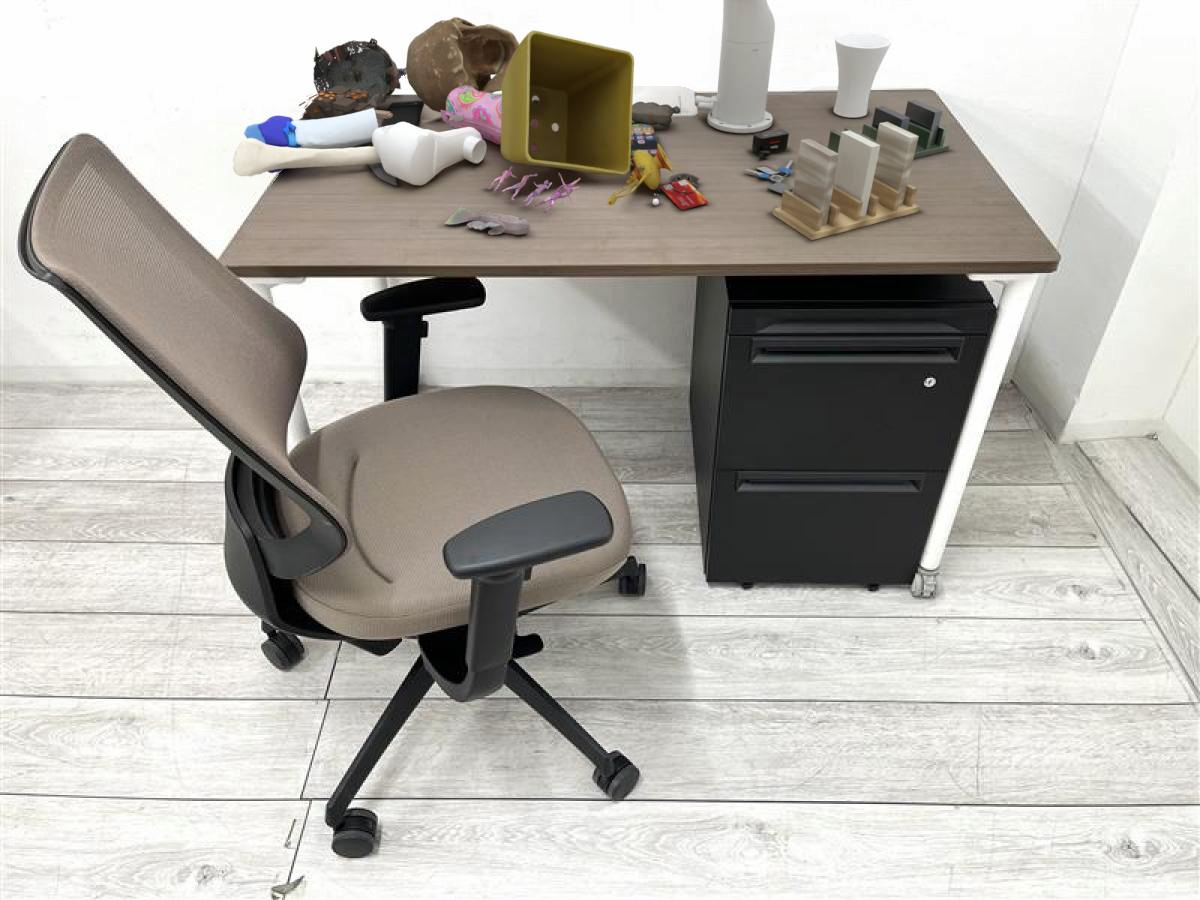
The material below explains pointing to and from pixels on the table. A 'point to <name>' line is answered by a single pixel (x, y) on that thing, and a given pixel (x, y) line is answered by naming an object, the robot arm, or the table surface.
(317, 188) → the table surface
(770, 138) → the wireless earbuds
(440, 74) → the skull
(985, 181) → the table surface
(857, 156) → the white book
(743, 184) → the table surface
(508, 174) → the people figure
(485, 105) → the pencil case
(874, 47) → the cup
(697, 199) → the card
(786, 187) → the key chain
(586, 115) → the flower pot
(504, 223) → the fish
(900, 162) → the beige rack
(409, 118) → the smartphone
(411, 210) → the table surface
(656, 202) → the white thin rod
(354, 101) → the video game creature
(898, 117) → the green rack
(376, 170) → the knife
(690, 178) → the corroded twin loop
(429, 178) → the white plastic bottle
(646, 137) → the smartphone
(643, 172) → the magic lamp
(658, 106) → the rhino figurine
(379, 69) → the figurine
